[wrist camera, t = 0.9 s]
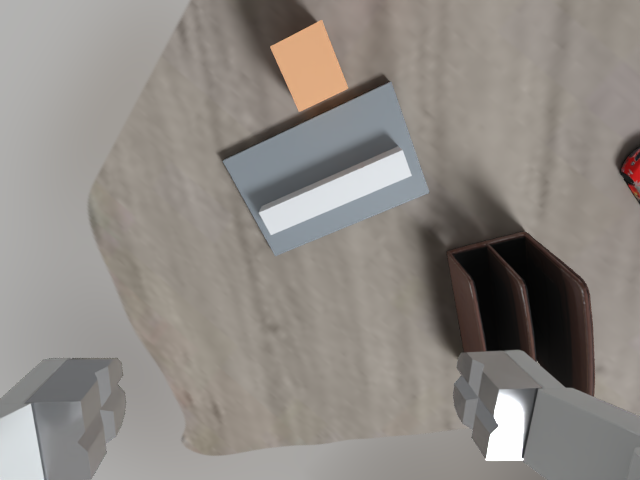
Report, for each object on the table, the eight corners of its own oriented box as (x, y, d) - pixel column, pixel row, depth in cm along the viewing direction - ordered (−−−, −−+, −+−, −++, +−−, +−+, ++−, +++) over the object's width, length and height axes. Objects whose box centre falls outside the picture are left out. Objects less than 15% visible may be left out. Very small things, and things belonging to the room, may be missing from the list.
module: (321, 27, 38) (321, 19, 32) (344, 86, 40) (348, 88, 35) (277, 50, 39) (269, 46, 33) (302, 106, 41) (299, 112, 36)
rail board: (389, 81, 40) (395, 82, 37) (427, 190, 45) (434, 198, 42) (224, 159, 43) (217, 165, 40) (276, 252, 48) (273, 264, 45)
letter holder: (524, 229, 47) (602, 288, 34) (534, 351, 55) (600, 437, 42) (444, 249, 48) (490, 314, 35) (465, 366, 56) (508, 454, 43)
